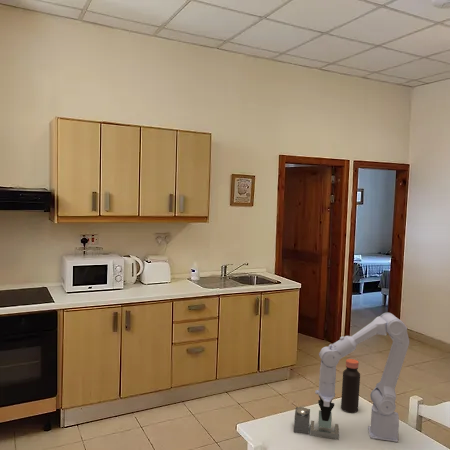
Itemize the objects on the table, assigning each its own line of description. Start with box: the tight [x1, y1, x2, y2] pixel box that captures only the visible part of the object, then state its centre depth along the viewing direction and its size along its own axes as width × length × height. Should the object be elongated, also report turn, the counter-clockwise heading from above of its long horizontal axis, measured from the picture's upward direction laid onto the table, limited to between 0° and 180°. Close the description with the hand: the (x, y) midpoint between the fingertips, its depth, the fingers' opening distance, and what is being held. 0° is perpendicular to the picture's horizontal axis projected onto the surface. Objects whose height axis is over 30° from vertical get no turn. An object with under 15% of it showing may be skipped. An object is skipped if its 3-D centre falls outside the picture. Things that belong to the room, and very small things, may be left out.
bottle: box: [340, 358, 361, 414], centre depth 181 cm, size 7×7×20 cm
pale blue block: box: [317, 409, 333, 429], centre depth 163 cm, size 4×4×5 cm
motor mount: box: [293, 406, 340, 441], centre depth 163 cm, size 16×8×7 cm, turn 78°
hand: (325, 417), depth 163 cm, fingers closed on pale blue block, 4 cm apart
